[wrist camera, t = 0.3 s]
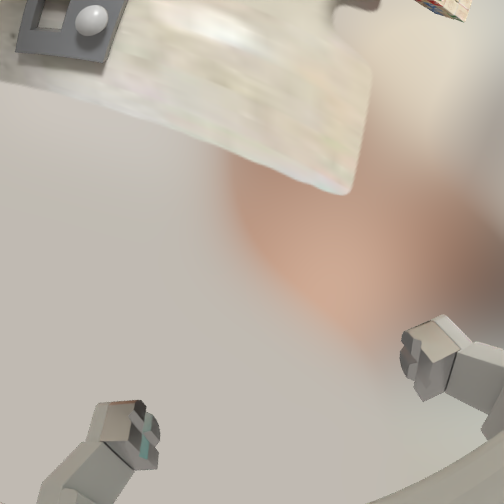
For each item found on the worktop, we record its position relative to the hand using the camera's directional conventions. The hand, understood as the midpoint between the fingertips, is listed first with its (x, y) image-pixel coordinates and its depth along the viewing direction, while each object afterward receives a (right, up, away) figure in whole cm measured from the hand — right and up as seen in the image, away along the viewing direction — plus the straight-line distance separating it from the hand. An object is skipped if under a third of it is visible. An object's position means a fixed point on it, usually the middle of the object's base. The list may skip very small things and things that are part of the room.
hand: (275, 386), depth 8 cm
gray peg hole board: (-30, +43, +24) cm, 58 cm away
